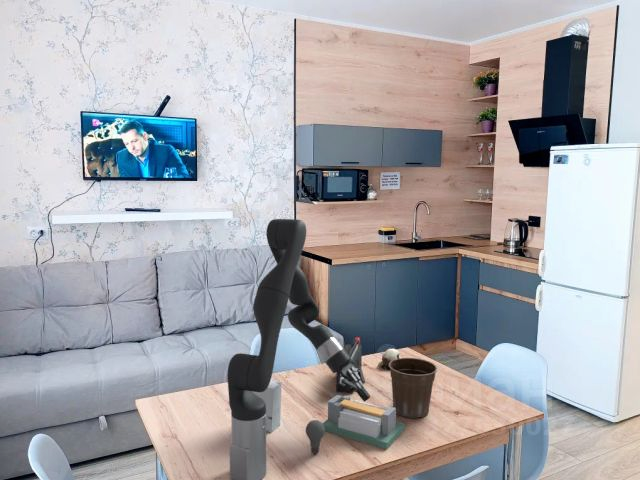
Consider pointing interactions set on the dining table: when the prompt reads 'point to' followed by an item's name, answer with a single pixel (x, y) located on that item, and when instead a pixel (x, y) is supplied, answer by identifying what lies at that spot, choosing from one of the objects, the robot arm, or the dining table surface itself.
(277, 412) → the skincare box
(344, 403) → the retention strap
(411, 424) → the dining table surface
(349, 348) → the game console
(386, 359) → the skull
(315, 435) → the light bulb
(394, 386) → the plant pot
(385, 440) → the base
